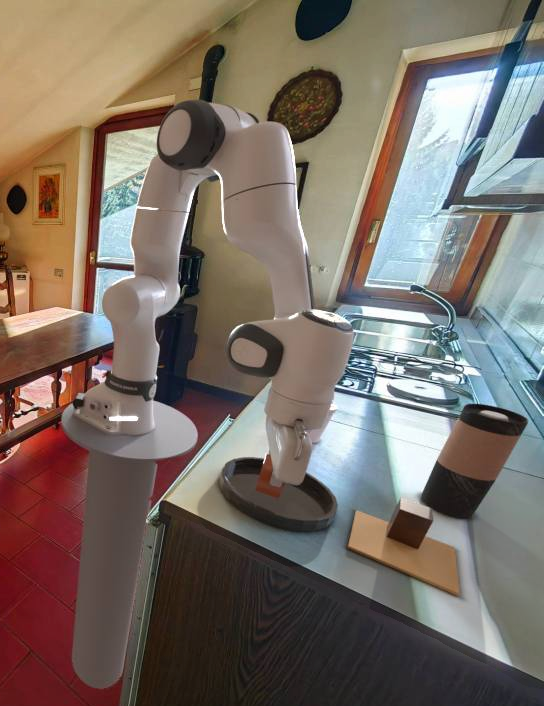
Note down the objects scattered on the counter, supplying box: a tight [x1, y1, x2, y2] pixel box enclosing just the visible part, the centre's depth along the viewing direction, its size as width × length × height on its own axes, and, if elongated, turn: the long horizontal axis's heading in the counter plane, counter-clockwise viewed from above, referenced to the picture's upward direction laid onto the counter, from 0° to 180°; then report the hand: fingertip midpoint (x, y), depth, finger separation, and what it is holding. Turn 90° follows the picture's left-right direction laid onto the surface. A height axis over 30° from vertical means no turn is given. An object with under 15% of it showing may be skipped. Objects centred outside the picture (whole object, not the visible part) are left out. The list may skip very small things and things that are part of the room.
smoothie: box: [309, 403, 338, 444], centre depth 94 cm, size 6×6×14 cm
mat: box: [347, 509, 460, 597], centre depth 64 cm, size 13×12×1 cm
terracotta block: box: [255, 453, 285, 499], centre depth 71 cm, size 4×4×6 cm
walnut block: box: [386, 497, 434, 549], centre depth 65 cm, size 4×4×6 cm
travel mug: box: [420, 403, 529, 519], centre depth 71 cm, size 8×8×20 cm
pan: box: [218, 456, 339, 533], centre depth 76 cm, size 19×19×2 cm
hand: (272, 475), depth 71 cm, fingers closed on terracotta block, 4 cm apart
